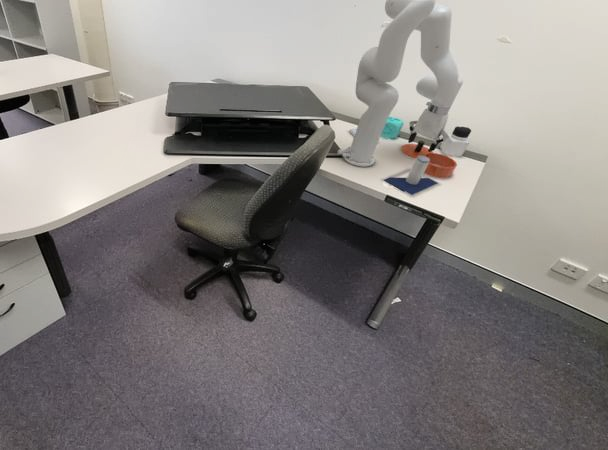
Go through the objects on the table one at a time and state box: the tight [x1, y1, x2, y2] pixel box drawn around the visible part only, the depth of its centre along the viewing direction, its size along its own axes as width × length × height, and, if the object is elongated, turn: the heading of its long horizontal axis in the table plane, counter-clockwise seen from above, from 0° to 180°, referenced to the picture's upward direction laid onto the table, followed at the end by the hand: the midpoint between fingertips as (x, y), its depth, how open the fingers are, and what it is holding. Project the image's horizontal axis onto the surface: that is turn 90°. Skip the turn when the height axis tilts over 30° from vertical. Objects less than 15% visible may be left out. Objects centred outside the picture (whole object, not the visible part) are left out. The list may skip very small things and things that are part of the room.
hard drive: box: [349, 128, 357, 137], centre depth 158 cm, size 2×8×12 cm
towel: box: [384, 176, 439, 196], centre depth 129 cm, size 17×12×1 cm
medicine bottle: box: [439, 125, 472, 157], centre depth 145 cm, size 7×7×12 cm
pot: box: [423, 152, 458, 179], centre depth 135 cm, size 12×12×5 cm
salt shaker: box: [405, 156, 430, 185], centre depth 126 cm, size 5×5×10 cm
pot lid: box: [400, 140, 434, 159], centre depth 146 cm, size 13×13×6 cm
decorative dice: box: [380, 116, 404, 140], centre depth 158 cm, size 8×8×8 cm
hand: (420, 146), depth 146 cm, fingers open, 9 cm apart
